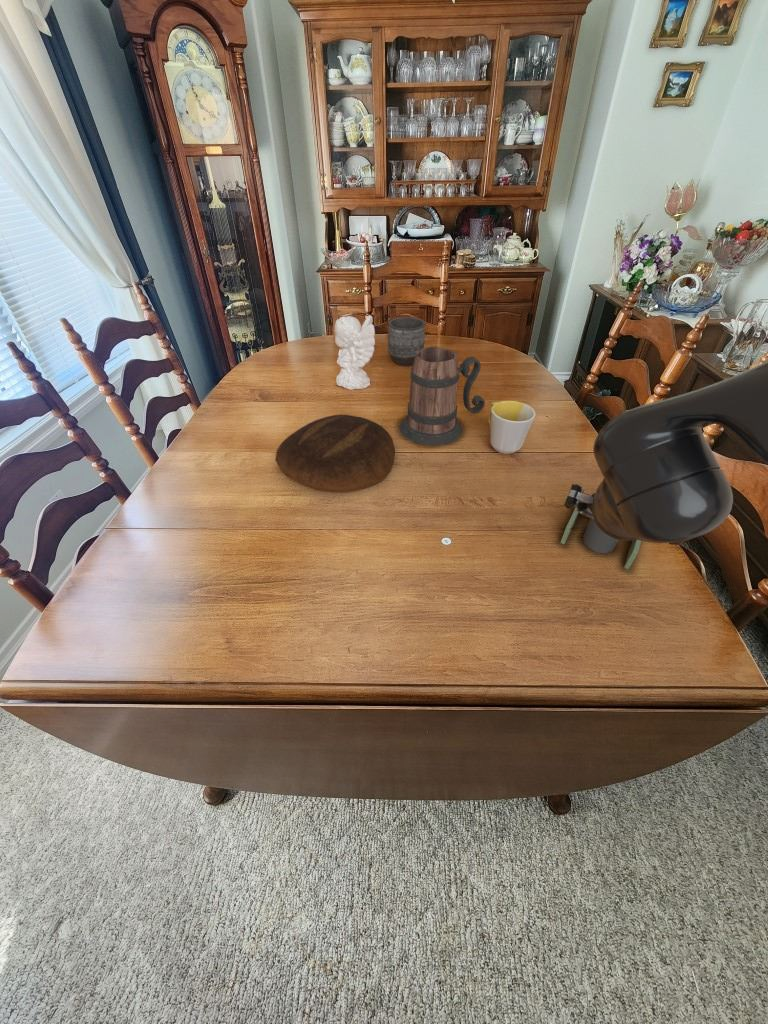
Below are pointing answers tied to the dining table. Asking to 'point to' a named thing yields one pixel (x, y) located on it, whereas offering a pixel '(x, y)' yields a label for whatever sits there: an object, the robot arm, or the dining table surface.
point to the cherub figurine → (354, 351)
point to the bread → (337, 454)
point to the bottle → (598, 539)
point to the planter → (405, 339)
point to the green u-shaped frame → (633, 548)
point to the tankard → (438, 396)
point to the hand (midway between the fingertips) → (617, 520)
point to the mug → (509, 425)
